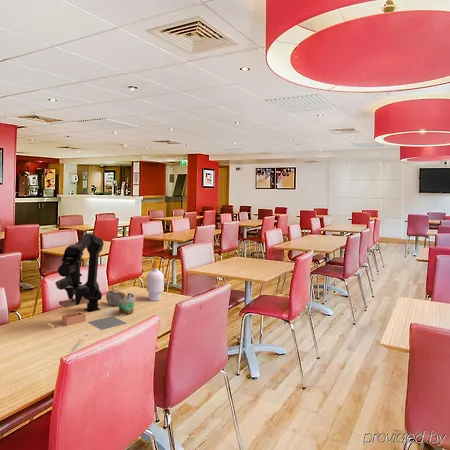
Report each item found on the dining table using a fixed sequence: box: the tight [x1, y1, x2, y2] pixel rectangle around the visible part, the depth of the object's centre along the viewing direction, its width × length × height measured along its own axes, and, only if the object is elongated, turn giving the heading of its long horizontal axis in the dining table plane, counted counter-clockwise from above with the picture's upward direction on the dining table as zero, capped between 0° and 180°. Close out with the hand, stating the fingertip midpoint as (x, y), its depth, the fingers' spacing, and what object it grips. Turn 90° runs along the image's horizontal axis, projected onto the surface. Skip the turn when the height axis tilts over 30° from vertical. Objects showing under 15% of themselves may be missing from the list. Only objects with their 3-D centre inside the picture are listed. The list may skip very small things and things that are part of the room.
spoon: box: [69, 333, 89, 354], centre depth 170 cm, size 4×21×2 cm, turn 179°
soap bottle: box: [146, 259, 165, 302], centre depth 240 cm, size 10×10×24 cm
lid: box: [58, 297, 89, 309], centre depth 195 cm, size 7×12×2 cm, turn 136°
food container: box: [118, 292, 136, 316], centre depth 212 cm, size 12×6×10 cm, turn 168°
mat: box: [87, 315, 128, 331], centre depth 197 cm, size 14×14×1 cm
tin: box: [105, 289, 127, 307], centre depth 227 cm, size 15×3×8 cm, turn 58°
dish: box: [61, 311, 87, 327], centre depth 196 cm, size 6×10×4 cm, turn 136°
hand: (74, 303), depth 195 cm, fingers closed on lid, 7 cm apart
